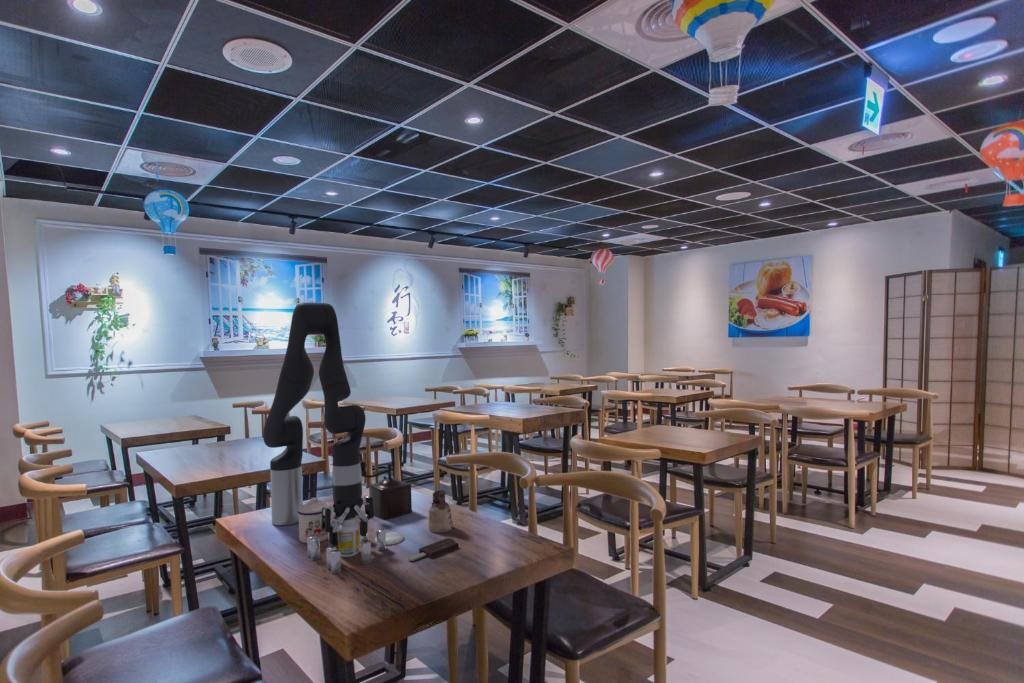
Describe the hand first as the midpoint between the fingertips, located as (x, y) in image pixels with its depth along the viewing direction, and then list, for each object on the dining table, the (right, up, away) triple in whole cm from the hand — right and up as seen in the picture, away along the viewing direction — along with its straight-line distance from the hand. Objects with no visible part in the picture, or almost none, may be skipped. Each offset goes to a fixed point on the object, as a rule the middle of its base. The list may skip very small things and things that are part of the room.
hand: (349, 540), depth 142 cm
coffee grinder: (+2, -3, +31) cm, 31 cm away
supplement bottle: (0, -4, 0) cm, 4 cm away
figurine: (+22, -3, +17) cm, 28 cm away
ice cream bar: (+23, -4, -1) cm, 23 cm away
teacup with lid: (-12, -4, +13) cm, 18 cm away
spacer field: (0, -4, 0) cm, 4 cm away
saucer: (+9, -3, +9) cm, 13 cm away
